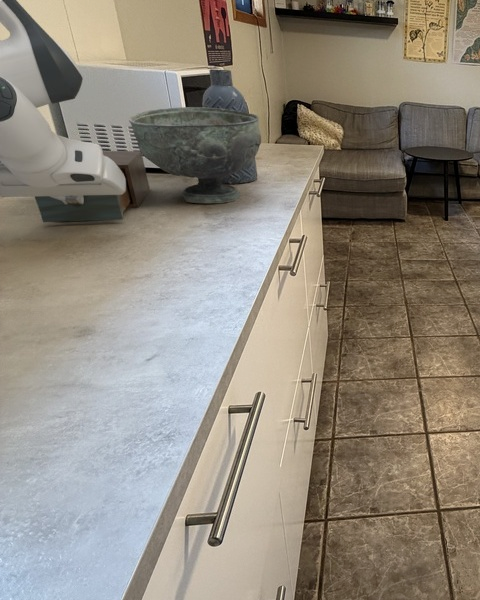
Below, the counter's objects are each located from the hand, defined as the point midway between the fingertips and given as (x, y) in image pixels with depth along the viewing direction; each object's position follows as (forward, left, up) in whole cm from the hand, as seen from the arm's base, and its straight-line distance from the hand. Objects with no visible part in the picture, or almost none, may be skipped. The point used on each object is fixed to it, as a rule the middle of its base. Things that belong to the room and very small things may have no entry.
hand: (74, 200), depth 92 cm
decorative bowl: (+22, +20, -6) cm, 30 cm away
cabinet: (0, +21, -5) cm, 21 cm away
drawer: (0, +8, -4) cm, 9 cm away
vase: (+27, +39, -6) cm, 47 cm away
